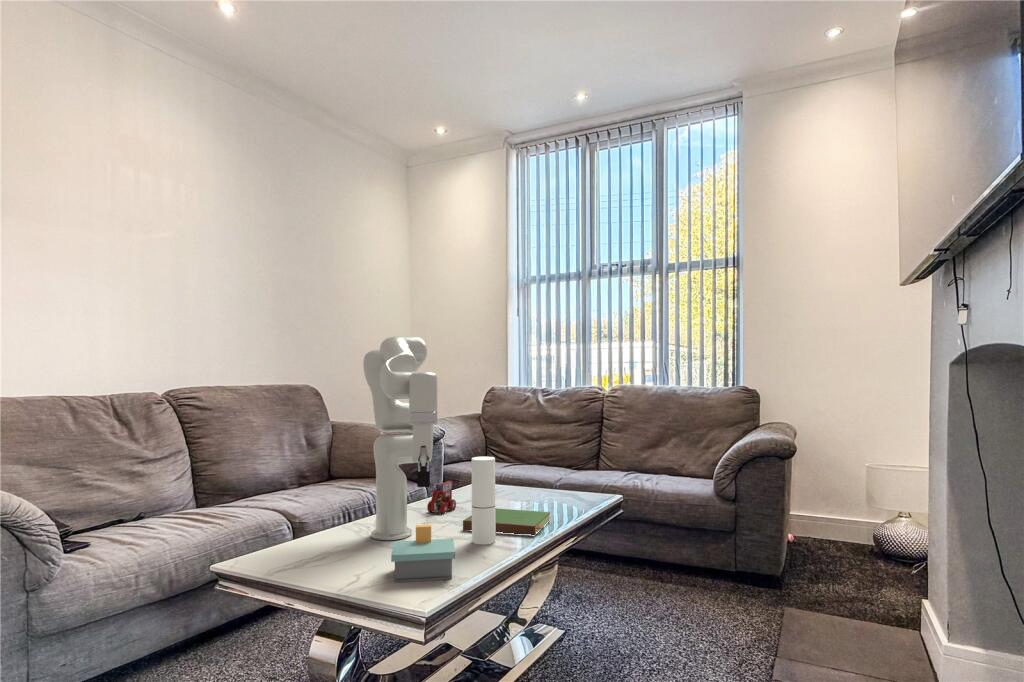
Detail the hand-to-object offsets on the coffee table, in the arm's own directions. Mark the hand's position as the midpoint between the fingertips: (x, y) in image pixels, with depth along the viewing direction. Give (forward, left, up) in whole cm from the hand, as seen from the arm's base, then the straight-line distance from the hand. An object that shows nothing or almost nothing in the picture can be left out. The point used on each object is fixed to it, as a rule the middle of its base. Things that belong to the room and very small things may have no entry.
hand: (423, 483), depth 155 cm
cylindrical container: (-21, +18, -22) cm, 35 cm away
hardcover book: (-37, +28, -23) cm, 51 cm away
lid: (+4, 0, -16) cm, 17 cm away
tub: (+4, 0, -22) cm, 22 cm away
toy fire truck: (-61, +6, -22) cm, 66 cm away
